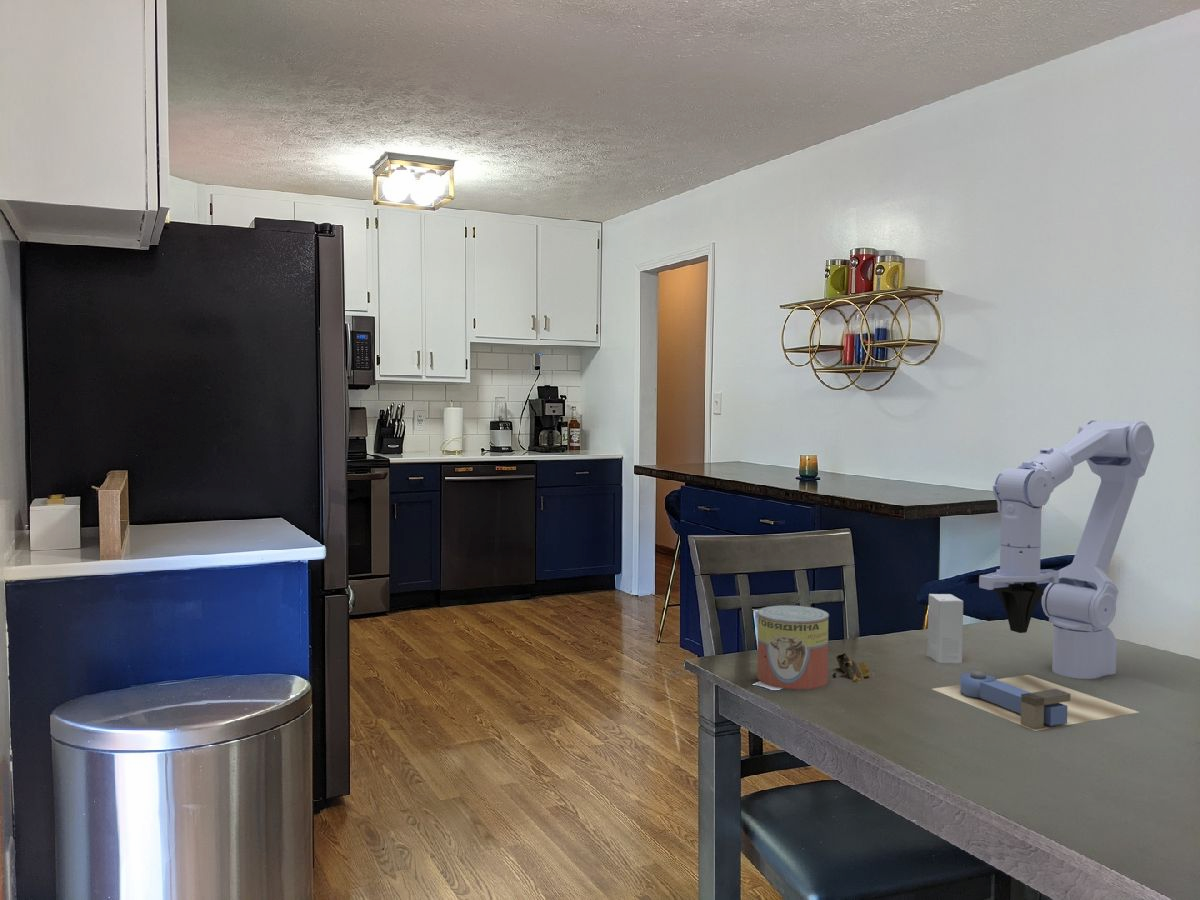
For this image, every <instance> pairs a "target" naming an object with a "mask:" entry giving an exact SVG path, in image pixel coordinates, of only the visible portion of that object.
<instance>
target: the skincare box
mask: <svg viewBox="0 0 1200 900" xmlns="http://www.w3.org/2000/svg"><path fill="white" fill-rule="evenodd" d="M927 608H928V609H927V611H928V614H927V616H928V617H927V619H928V620H927V652H926V653H927V657H930V658H931V659H932V660H933V661H935V662H936V663H937V664H962V663H963V641H964V640H963V638H964V637H963V633H964V632H963V631H964V630H963V629H964V600H963V599H960V598H958V597H957V596H955V595H954V594H951V593H929V594H928V607H927Z"/></svg>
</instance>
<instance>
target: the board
mask: <svg viewBox="0 0 1200 900" xmlns="http://www.w3.org/2000/svg"><path fill="white" fill-rule="evenodd" d="M996 680H998V681H1000V682H1003V683H1006V684H1009V685H1011V686H1014V687H1017V688H1020V689H1022V690H1025V691H1028V692H1031V693H1033V692H1039V691H1046V690H1052V689H1058V690H1061V691H1064V692H1067V693H1070V694H1071V695H1070V701H1067V702H1061V704H1064V705H1066V706H1067V723H1064V724H1058V725H1052V726H1050V725H1047V724H1045V723H1044V726H1043V728H1042V729H1036V730H1034V729H1031V728H1029V727H1026V726H1024V725H1021V714H1020V713H1017V712H1015V711H1012V710H1010V709H1007V708H1004V707H1002V706H999V705H997V704H994V703H992V702H989V701H987V700H984V699H982V698H977V697H971V696H967V695H964V694H962V693H961V692H960V684H955V685H948V686H942V687H935V688H931V690H933V691H935V692H937V693H939V694H942V695H945V696H947V697H950V698H952V699H955V700H957V701H960V702H962V703H964V704H968V705H970V706H972V707H975V708H977V709H979V710H981V711H985V712H986V713H989V714H992V715H994V716H997V717H999V718H1002V719H1004V720H1007V721H1010V722H1012V723H1015V724H1016V725H1020V726H1022V727H1024V728H1027V729H1029V730H1032V731H1034V732H1037V731H1044V730H1049V729H1054V728H1061V727H1066V726H1071V725H1077V724H1082V723H1089V722H1092V721H1093V722H1094V721H1100V720H1106V719H1110V718H1111V719H1112V718H1117V717H1122V716H1123V717H1124V716H1128V715H1132V714H1133V715H1134V714H1139V713H1140V711H1137V710H1135V709H1132V708H1128V707H1125V706H1122V705H1119V704H1116V703H1114V702H1110V701H1109V700H1108V701H1107V700H1104V699H1103V698H1099V697H1095V696H1093V695H1090V694H1088V693H1083V692H1081V691H1078V690H1075V689H1073V688H1072V689H1071V688H1069V687H1066V686H1063V685H1060V684H1057V683H1053V682H1052V681H1051V682H1050V681H1048V680H1046V679H1041V678H1039V677H1036V676H1034V675H1030V674H1024V675H1023V674H1022V675H1015V676H1011V677H1010V676H1009V677H1003V678H997V679H996Z"/></svg>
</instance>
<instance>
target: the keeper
mask: <svg viewBox="0 0 1200 900" xmlns="http://www.w3.org/2000/svg"><path fill="white" fill-rule="evenodd" d="M1070 695H1071V694H1070V693H1067V692H1064V691H1061V690H1058V689H1052V690H1046V691H1039V692H1033V693H1027V694H1021V725H1024V726H1026V727H1029V728H1031V729H1034V730H1036V729H1042V728H1043V726H1044V705H1048V704H1054V703H1061V702H1067V701H1070ZM1021 725H1020V726H1021ZM1024 726H1023V727H1024ZM1026 727H1025V728H1026ZM1029 728H1028V729H1029ZM1031 729H1030V730H1031ZM1034 730H1033V731H1034Z"/></svg>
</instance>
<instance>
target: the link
mask: <svg viewBox="0 0 1200 900" xmlns="http://www.w3.org/2000/svg"><path fill="white" fill-rule="evenodd" d="M959 681H960V684H959V685H960V692H961V693H962V694H964V695H967V696H971V697H977V698H982V699H984V700H987V701H989V702H992V703H994V704H997V705H999V706H1002V707H1004V708H1007V709H1010V710H1012V711H1015V712H1017V713H1020V714H1021V694H1027V693H1031V692H1028V691H1025V690H1022V689H1020V688H1017V687H1014V686H1011V685H1009V684H1006V683H1003V682H1000V681H998V680H996V677H995V676H993V675H990V674H988V673H987V671H984V670H979V669H972V670H970V672H964V673H962V674H960V680H959ZM1044 723H1045V724H1047V725H1050V726H1052V725H1058V724H1064V723H1067V706H1066V705H1064V704H1061V703H1054V704H1048V705H1044Z"/></svg>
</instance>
